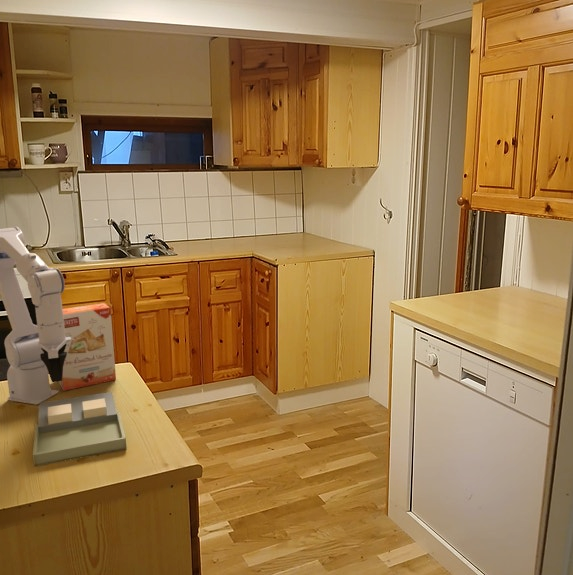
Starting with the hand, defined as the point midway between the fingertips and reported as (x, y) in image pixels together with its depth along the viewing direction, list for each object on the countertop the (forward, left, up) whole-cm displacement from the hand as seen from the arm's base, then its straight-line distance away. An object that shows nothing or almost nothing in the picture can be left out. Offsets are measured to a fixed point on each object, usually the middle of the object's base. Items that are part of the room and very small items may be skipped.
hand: (56, 377), depth 139 cm
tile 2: (+10, 0, -7) cm, 12 cm away
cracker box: (-6, +18, -10) cm, 21 cm away
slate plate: (+5, 0, -9) cm, 10 cm away
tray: (+13, -10, -9) cm, 19 cm away
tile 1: (+4, -5, -7) cm, 10 cm away
